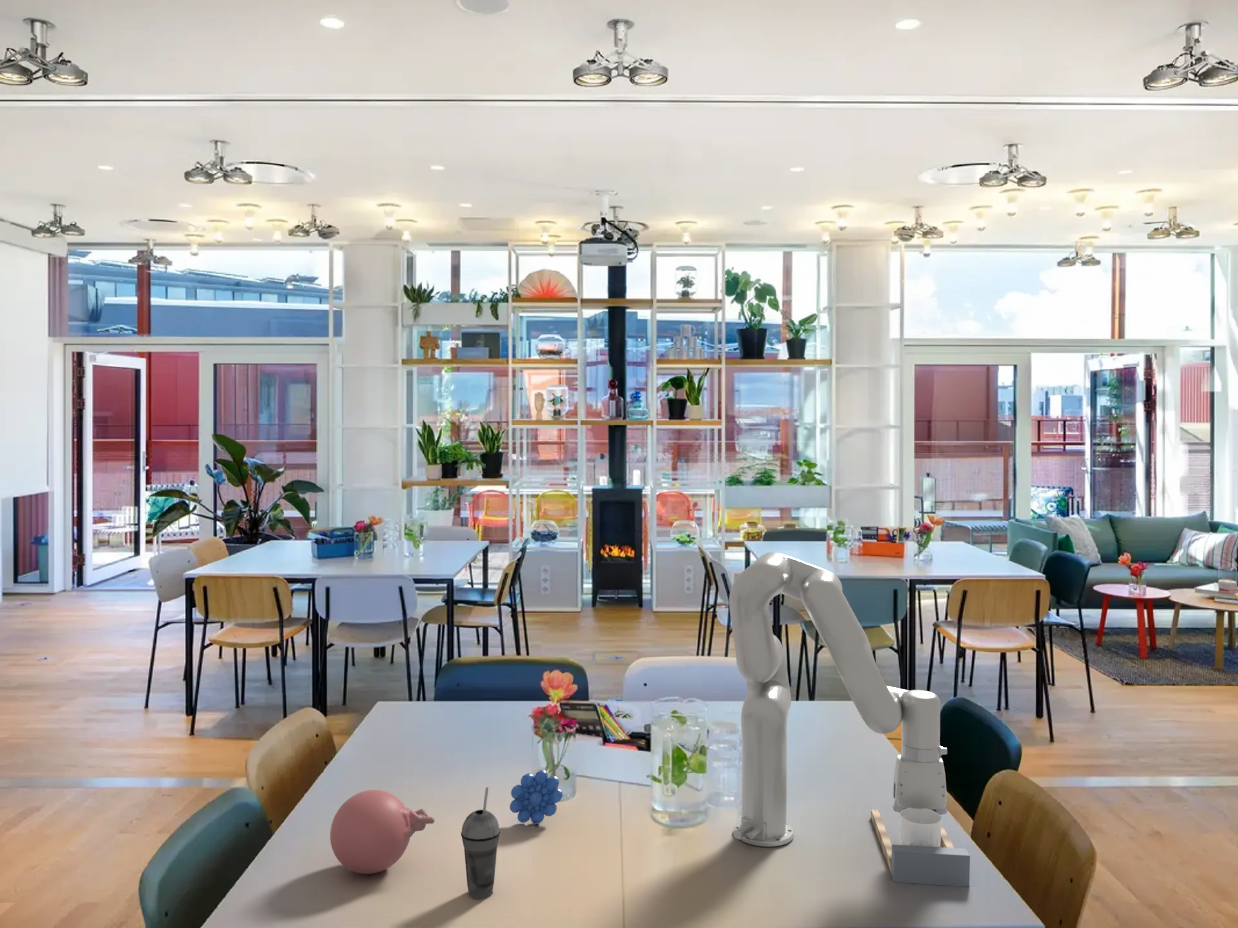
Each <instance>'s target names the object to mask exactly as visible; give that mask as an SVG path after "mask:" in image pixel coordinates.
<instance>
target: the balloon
mask: <svg viewBox="0 0 1238 928" xmlns="http://www.w3.org/2000/svg"><path fill="white" fill-rule="evenodd" d="M434 823H435V818H434V817H433V816H430V815H428V814H427V811H426V809H424V808H420V809H417V810H416V811H414V810H412V809H410V808H409V807H406V806H405V804H404V802H403V801H401V799H399V798H398V797H397V796H396V795H394V794H393V793H391V792H389V791H386V790H382V789H369V790H364V791H361V792H358V793H356V794H353V795H352V796H350V797H349V798H348V799H347V800H346V801H344V802H343V804H342V805H341V806H340V807H339V808H338V809H337V811H336V813H335V815H334V817H333V819H332V822H331V827H330V830H329V831H330V832H329V836H330V837H329V840H330V846H331V850H332V852H333V853H334V856H335V858H336V859H337V861H338V862H339V863H340V864H341V865H342V866H344V868H346V869H347V870H348V871H349V870H350V871H351V872H354V873H357V874H360V875H361V874H363V875H371V874H377V873H381V872H383V871H385V870H387V869H389V868H390V867H392V866H393V865H394V864H396V863H397V862H398V861H399V860H400V859H401V858H402V857H403V855H404V853H405V852H406V850H407V847H408V845H409V842H410V839H411V837H413V835H414V834H415V832H421V831H422V832H423V831H424V830H425V829H426V826H427V825H429V824H431V825H432V824H434Z"/></svg>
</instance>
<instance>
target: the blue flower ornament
mask: <svg viewBox="0 0 1238 928" xmlns="http://www.w3.org/2000/svg"><path fill="white" fill-rule="evenodd" d="M559 785H560V779H559V778H558V777H557V776H555V775H551V776H549V773H548V772H547V771H546V770H544V769H540V770H539V771H537V772H535V775H533V774H532V773H529V772H528V773H526V774H524V775H523V776H522V777H521V778H520V784H516V785H514V786H513V787H511V791H510V796H511V797H512V799H513V800H512V801H511V802H510V804H509V810H510V811H511V812H512V813H514V814H517V821H518V822H520V823H523V824H525V823H527V822H528V821H531V823H532V824H534V825H539V824H540V823H543V822H544V819H545V816H546V817H552V816H553V815H555V813H556V812H557V807H558V806H557V804H558V802H560V801H561V800H562V798H563V796H564V795H563V791H562V790H561V789H560V788H558V787H559Z"/></svg>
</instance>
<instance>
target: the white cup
mask: <svg viewBox="0 0 1238 928" xmlns="http://www.w3.org/2000/svg"><path fill="white" fill-rule="evenodd" d="M899 815H900V817H899V818H900V835H901V836H900V838H901V845H910V846H928V847H941V845H940V841H941V824H943V823H942V822H943V821H942V819H943V818H942V815H940V814H938V813H937V812H935V811H933V810H930V809H926V808H925V809H915V808H906V809H904V810H902V811H901V813H899Z"/></svg>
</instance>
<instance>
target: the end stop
mask: <svg viewBox="0 0 1238 928" xmlns="http://www.w3.org/2000/svg"><path fill="white" fill-rule="evenodd" d="M891 845H892V866H891V872H890V874H891V878H892V880H893V882H894V883H904V884H905V883H907V884H921V885H922V884H923V885H935V886H936V885H937V886H940V885H941V886H952V887H953V886H955V887H970V879H971V878H970V876H971V875H970V873H971V871H970V868H971V864H970V863H971V855H970V853H969V852H968V850H967V848H962V847H961V848H959V847H954V848H945V847H941V846H940V847H928V846H910V845H902V844H893V843H891Z"/></svg>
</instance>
